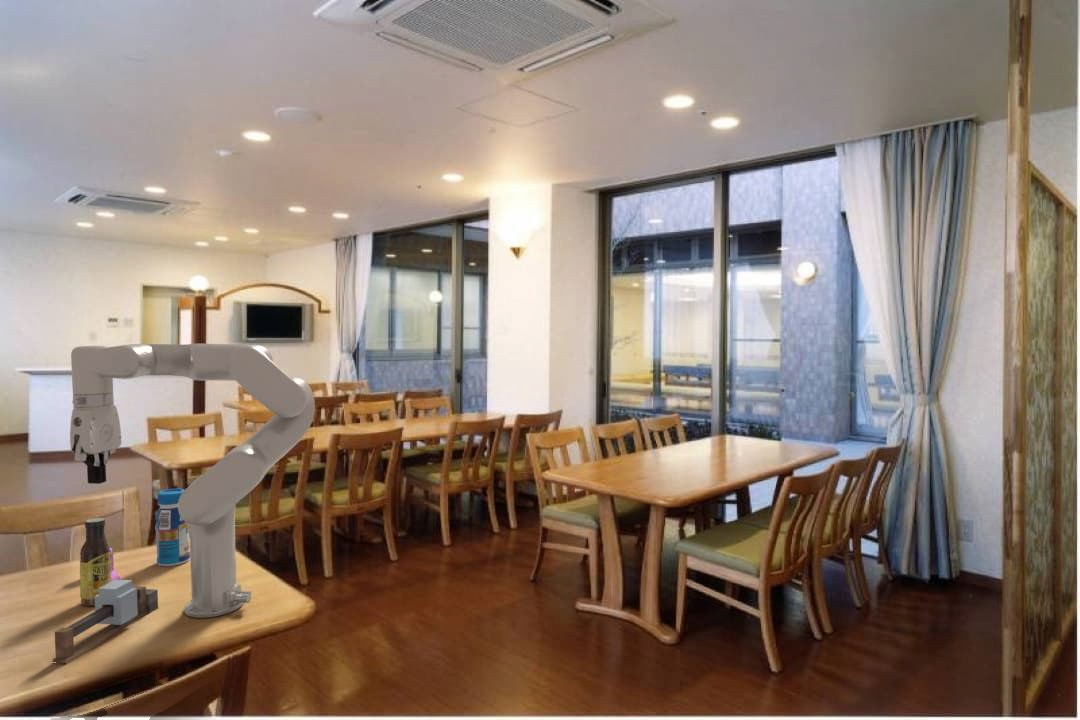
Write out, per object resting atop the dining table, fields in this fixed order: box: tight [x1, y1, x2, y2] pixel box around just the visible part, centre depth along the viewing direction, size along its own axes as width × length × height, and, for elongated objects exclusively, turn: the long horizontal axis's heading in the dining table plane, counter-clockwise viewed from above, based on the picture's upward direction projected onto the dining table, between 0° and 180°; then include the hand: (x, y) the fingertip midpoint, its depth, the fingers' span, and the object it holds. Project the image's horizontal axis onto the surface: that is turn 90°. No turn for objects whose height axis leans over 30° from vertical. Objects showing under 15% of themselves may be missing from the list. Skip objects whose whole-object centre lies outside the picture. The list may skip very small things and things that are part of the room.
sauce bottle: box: [79, 517, 111, 607], centre depth 160 cm, size 7×6×20 cm
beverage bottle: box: [154, 488, 190, 567], centre depth 187 cm, size 8×8×20 cm
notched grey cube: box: [94, 579, 138, 625], centre depth 147 cm, size 6×5×8 cm
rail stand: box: [52, 585, 159, 665], centre depth 145 cm, size 4×26×6 cm, turn 174°
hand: (97, 482), depth 150 cm, fingers closed
